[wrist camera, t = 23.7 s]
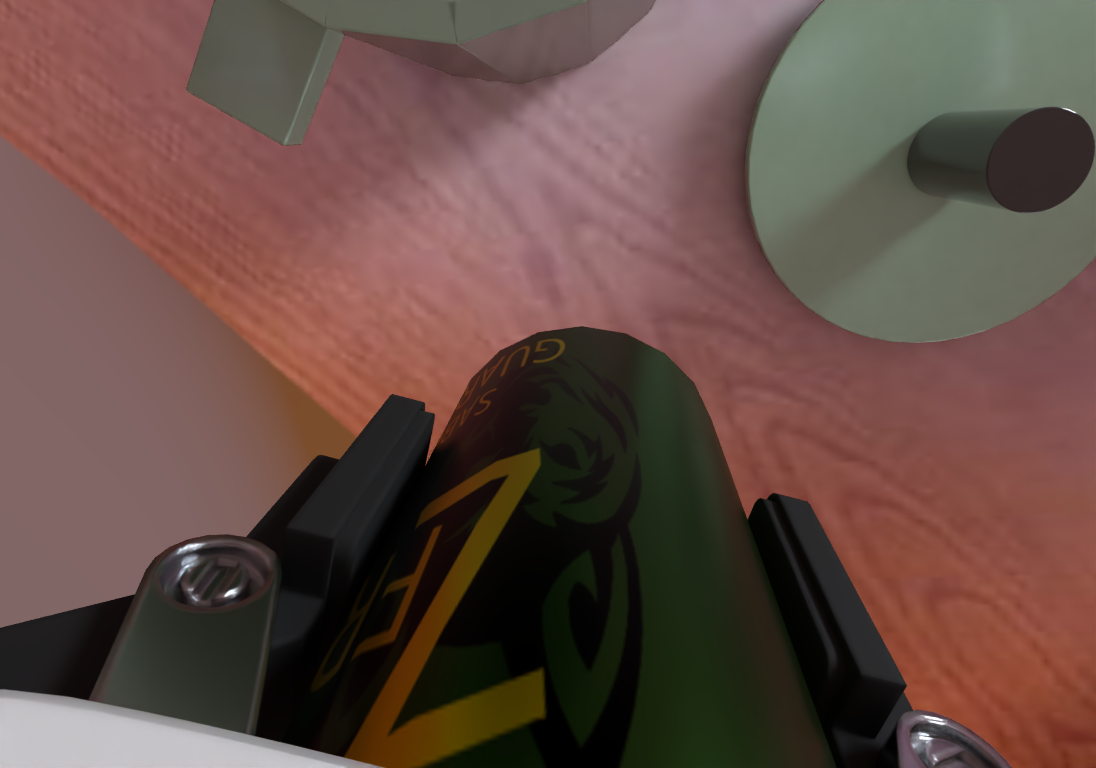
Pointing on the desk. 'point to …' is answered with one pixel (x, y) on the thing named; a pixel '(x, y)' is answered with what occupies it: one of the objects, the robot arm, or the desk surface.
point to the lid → (928, 162)
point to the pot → (388, 47)
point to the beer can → (568, 588)
